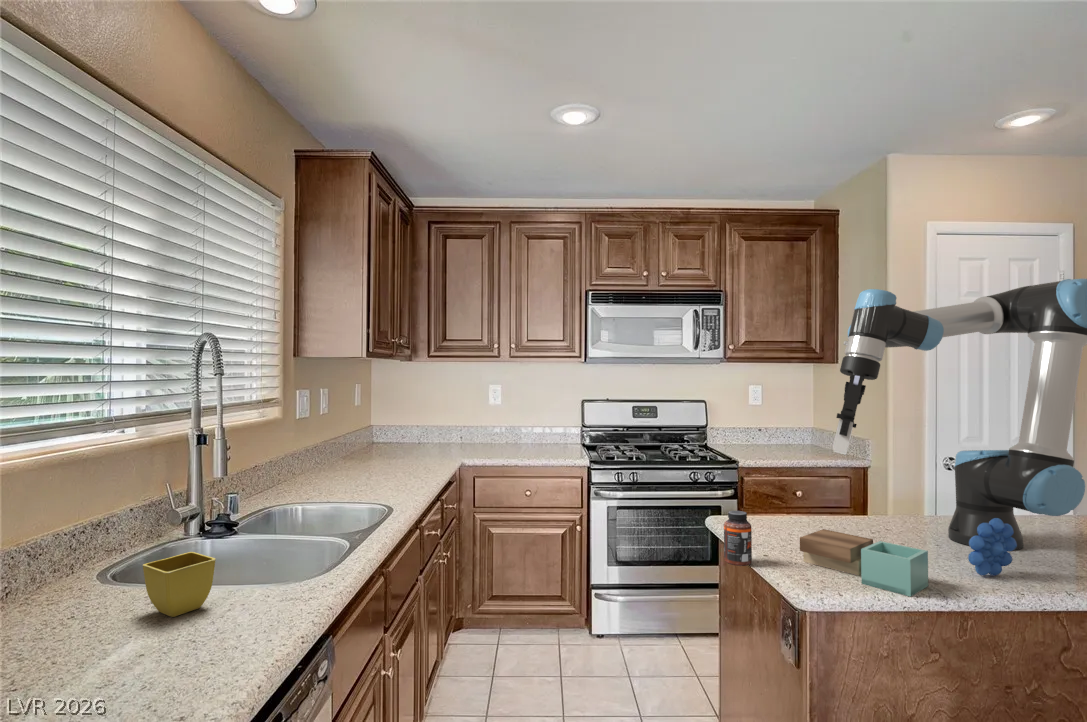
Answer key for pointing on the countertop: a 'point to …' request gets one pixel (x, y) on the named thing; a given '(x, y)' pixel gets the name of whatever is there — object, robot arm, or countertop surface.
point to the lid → (834, 545)
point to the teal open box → (894, 568)
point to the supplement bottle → (737, 539)
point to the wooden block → (833, 563)
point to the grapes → (992, 547)
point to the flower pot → (179, 582)
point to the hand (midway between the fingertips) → (839, 452)
